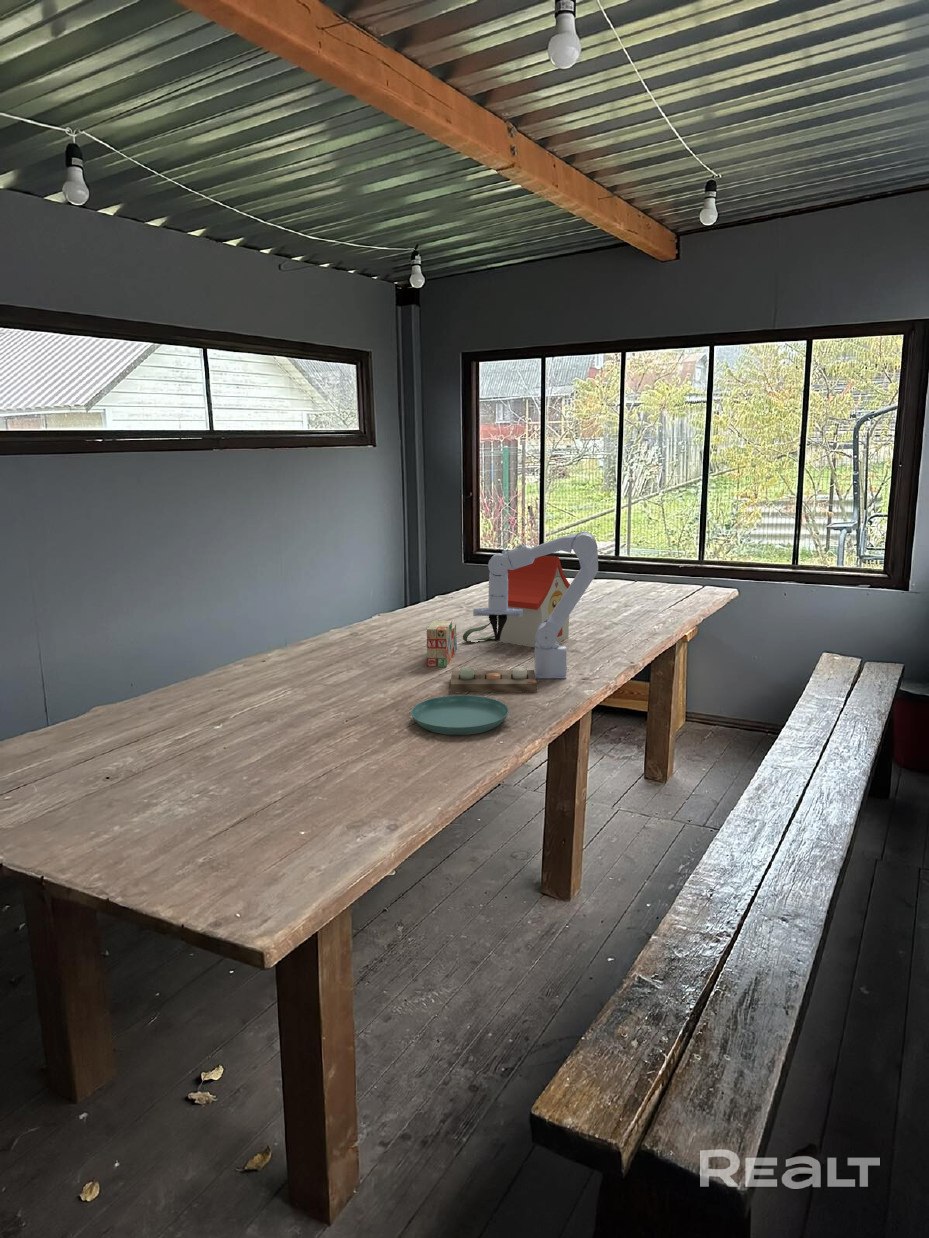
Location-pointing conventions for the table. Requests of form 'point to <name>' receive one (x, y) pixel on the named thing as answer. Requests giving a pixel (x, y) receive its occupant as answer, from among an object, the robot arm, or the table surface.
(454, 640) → the stack of blocks
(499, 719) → the saucer
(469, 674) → the sage button
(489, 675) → the terracotta button
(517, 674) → the cream button
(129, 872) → the table surface
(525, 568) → the birdhouse
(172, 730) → the table surface
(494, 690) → the panel
